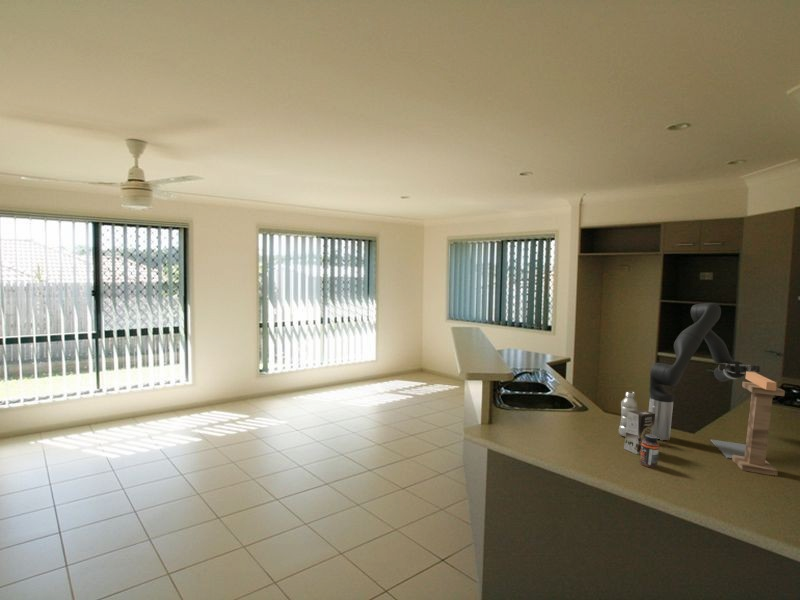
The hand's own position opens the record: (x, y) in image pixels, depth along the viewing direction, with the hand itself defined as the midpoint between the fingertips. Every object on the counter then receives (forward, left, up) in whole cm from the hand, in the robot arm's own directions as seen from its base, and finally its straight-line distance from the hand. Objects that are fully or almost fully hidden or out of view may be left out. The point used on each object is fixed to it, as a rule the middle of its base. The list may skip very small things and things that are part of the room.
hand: (742, 367), depth 195 cm
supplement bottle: (-50, -17, -36) cm, 64 cm away
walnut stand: (-7, -18, -36) cm, 40 cm away
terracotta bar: (-6, -15, -4) cm, 16 cm away
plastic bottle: (-40, +13, -36) cm, 55 cm away
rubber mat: (0, -2, -36) cm, 36 cm away
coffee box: (-45, -3, -36) cm, 58 cm away
